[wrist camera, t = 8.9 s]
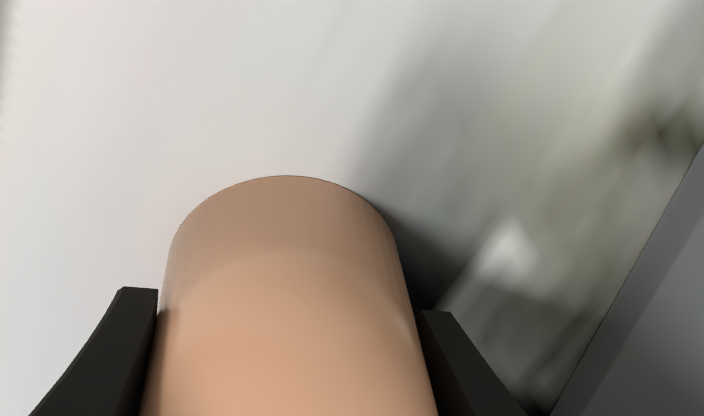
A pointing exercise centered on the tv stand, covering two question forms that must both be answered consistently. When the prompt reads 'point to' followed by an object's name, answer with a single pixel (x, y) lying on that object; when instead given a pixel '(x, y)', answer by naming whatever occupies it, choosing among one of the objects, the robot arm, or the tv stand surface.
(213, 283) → the terracotta cylinder
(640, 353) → the tote
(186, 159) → the tv stand surface
